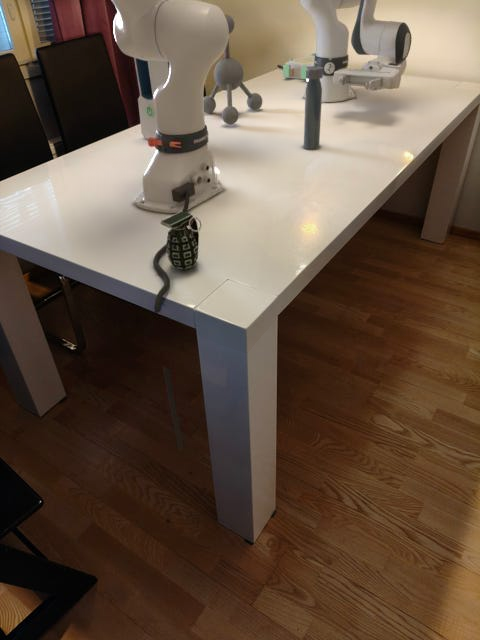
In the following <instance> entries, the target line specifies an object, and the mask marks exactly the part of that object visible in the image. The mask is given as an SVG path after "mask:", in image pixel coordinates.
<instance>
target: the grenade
mask: <svg viewBox="0 0 480 640" xmlns="http://www.w3.org/2000/svg"><path fill="white" fill-rule="evenodd" d="M198 222H199V226H198ZM159 224H160V225H162V226H164V227H166V228H169V230H168V231H167V236H166V244H167V249H166V254H167V259H168V261H169V263H170V265H171V266H172V267H174V268H176V269H178V270H181V271H186V270H189V269H192V267H194V266H195V265H196V264H197V262H198V261H197V260H198V259H199V243H200V241H199V240H200V233H199V232H200V231H201V228H202V221H201V220H200V219H199V218H198V217H197V216H194V215H193V214H192V213H189V212H188V211H187V212H184V211H181V212H179V213H174V214H172V215H170V216H169V217H166V218H165V219H162V220H160V222H159ZM198 227H199V228H198Z"/></svg>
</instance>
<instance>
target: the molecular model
mask: <svg viewBox="0 0 480 640" xmlns="http://www.w3.org/2000/svg"><path fill="white" fill-rule="evenodd" d="M224 15H225V17H226V20H227V23H228V28H229V35H230V34H232V33H233V31H234V29H235V20H234V19H233V17H232V16H231V15H229V14H228V13H227V14H225V13H224ZM213 79H214V82H215V85H214V87H213V89H212V92H211V94H210V95H205V96H203V98H204V113H205V114H211V113H213V112H215V110H216V108H217V102H216V100H215V96H216V94H217V93H218V90H219V89H221V90H223V91H226V99H227V100H226V101H227V102H226V104H227V106H226V107H224V108H223V110H222V112H221V118H222V121H223V122H224V123H225V124H227V125H234V124H236V123H237V121H238V119H239V117H240V116H239V115H240V114H239V111H238V109H237V108H236V107H235V106H233V98H232V97H233V92H232V91H235V90H236V89H238V88H240V89H241V90H242V91H243V93H244V94H245V96H247V99H246V104H247V107H248V108H249V109H250V110H252V111H257V110H260V108H261V107H262V106H263V97H262V96H261V95H260V94H259V93H257V92H253V93H252V92H251V91H250V90H249V89H248V88H247V87H246V85H245V84H244V83H243V80H244V69H243V67H242V64H241V63H240V62H239V61H238V60H237V59H236V58H233V57H231V55H230V37H229V38H228V43H227V46H226V49H225V51H224V57H223V58H222V59H220V60H219V61H218V62H217V63H216V65H215V66H214V70H213Z"/></svg>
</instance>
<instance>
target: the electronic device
mask: <svg viewBox="0 0 480 640" xmlns="http://www.w3.org/2000/svg"><path fill="white" fill-rule="evenodd" d="M133 60H134V61H133V62H134V65H135V72H136V79H137V86H138V90H139V97H138V98H137V103H138V113H139V123H140V129H141V130H140V131H141V135H142V136H143V138H144V139H146V140H148V139H149V138H150V137H152V138H156V130H157V129H158V128H157V121H156V114H155V108H154V101H153V97H154V93H155V91H156V89H157V88H158V86H159V85H161V84H162V83H163V82H164V81H166V80H168V77H169V72H170V67H169V62H161V61H144V60H141V59H137V58H134V57H133Z"/></svg>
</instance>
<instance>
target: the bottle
mask: <svg viewBox="0 0 480 640" xmlns="http://www.w3.org/2000/svg"><path fill="white" fill-rule="evenodd" d="M304 94H305V98H304V126H303V149H304V150H305V149H306V150H311V151H313V150H317V149H320V138H321V119H322V103H323V102H322V85H321V81H320V79H308V81H307V83H306V86H305V93H304Z"/></svg>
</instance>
